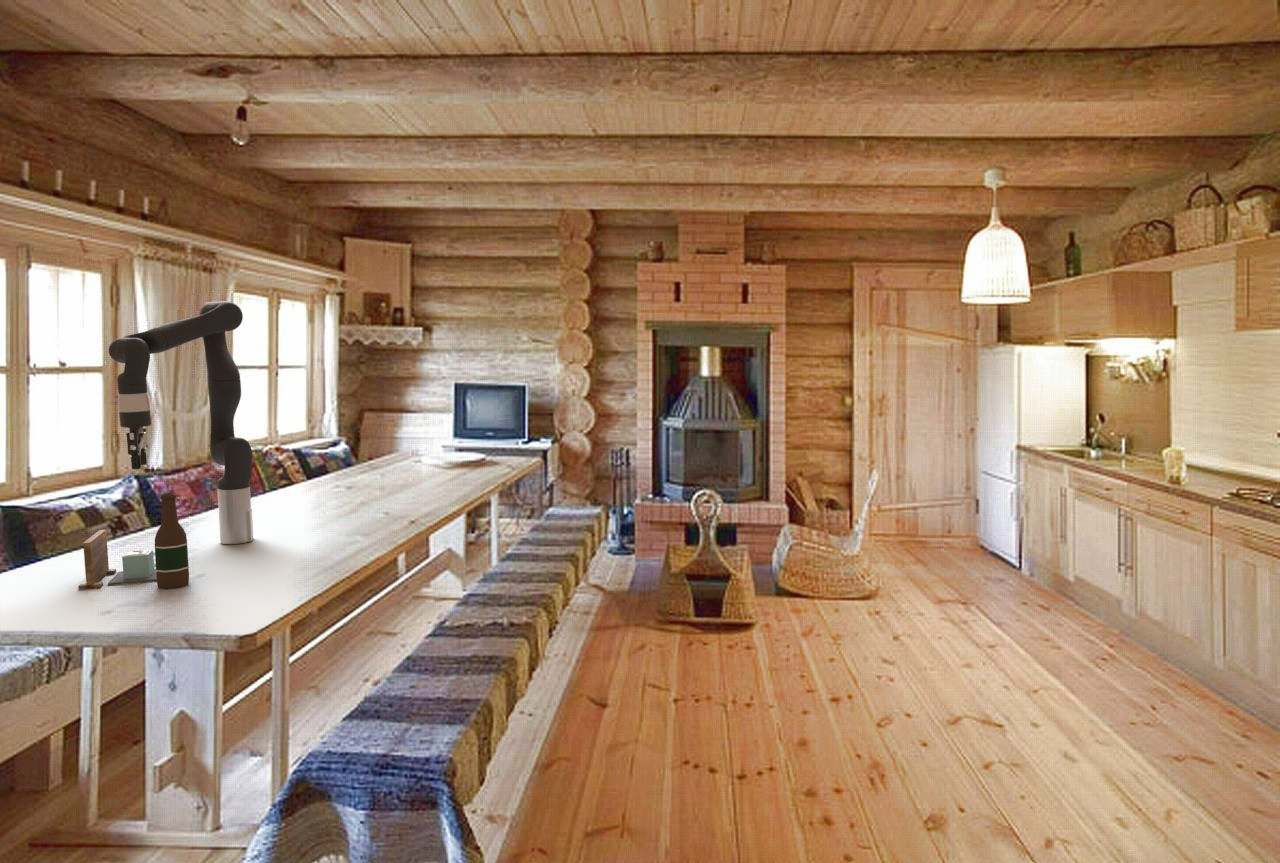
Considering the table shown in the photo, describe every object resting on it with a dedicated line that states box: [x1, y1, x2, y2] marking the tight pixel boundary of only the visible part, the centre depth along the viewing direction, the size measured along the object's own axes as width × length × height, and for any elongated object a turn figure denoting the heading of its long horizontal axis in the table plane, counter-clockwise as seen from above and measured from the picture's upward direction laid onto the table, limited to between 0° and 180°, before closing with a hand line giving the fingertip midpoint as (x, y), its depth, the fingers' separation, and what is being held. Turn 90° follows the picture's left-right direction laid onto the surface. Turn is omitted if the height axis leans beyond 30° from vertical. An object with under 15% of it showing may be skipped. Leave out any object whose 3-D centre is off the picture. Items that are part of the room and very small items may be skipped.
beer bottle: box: [154, 492, 190, 590], centre depth 215 cm, size 8×8×24 cm
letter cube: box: [121, 549, 155, 579], centre depth 224 cm, size 6×6×6 cm
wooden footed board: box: [77, 529, 117, 591], centre depth 220 cm, size 5×16×12 cm, turn 20°
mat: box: [107, 568, 157, 586], centre depth 224 cm, size 12×12×1 cm
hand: (139, 466), depth 236 cm, fingers open, 8 cm apart
